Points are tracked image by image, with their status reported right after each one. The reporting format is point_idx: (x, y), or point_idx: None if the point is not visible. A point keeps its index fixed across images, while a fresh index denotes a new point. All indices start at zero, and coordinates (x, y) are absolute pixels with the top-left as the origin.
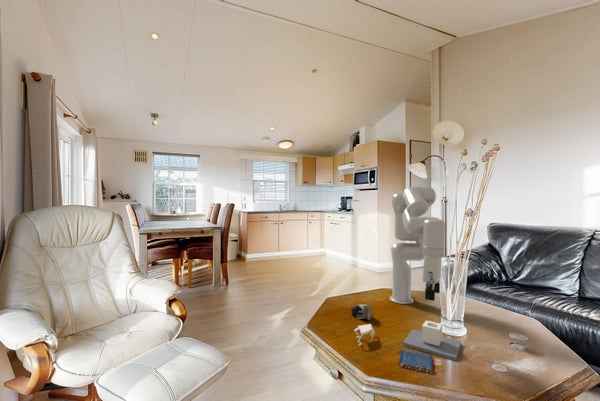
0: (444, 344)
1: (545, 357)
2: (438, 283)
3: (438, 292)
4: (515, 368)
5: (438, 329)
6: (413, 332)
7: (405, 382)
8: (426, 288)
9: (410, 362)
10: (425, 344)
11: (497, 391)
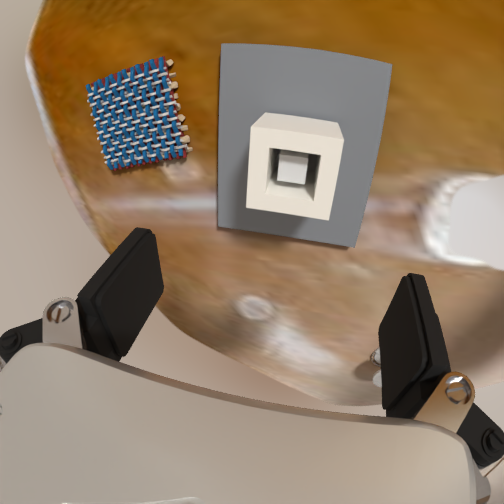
0: None
1: (353, 379)
2: (390, 410)
3: (379, 331)
4: (270, 333)
5: (248, 203)
6: (355, 68)
7: (50, 124)
8: (56, 309)
9: (99, 112)
10: None
11: None
